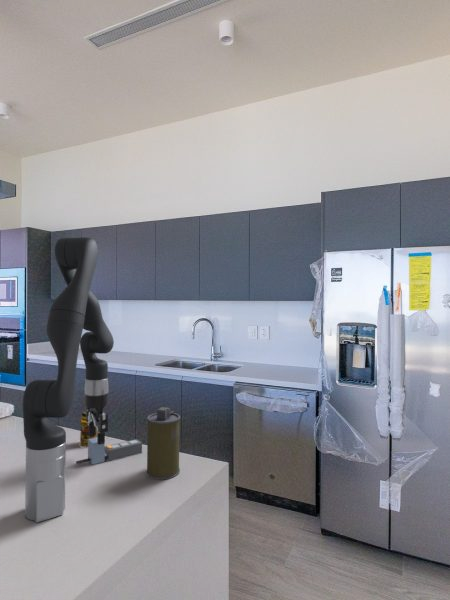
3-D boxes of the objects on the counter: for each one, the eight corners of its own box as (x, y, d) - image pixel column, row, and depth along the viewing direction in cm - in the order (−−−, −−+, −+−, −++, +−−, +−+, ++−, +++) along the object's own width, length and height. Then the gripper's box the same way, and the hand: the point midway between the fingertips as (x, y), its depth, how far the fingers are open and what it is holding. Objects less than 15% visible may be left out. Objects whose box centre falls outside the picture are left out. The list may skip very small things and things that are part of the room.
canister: (170, 482, 113) (171, 414, 113) (139, 476, 117) (140, 411, 117) (185, 467, 124) (186, 405, 124) (157, 462, 127) (157, 402, 127)
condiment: (80, 448, 138) (81, 415, 138) (76, 441, 145) (77, 409, 145) (101, 445, 142) (101, 412, 142) (96, 437, 149) (96, 407, 149)
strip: (141, 452, 135) (142, 441, 135) (108, 461, 128) (108, 449, 128) (136, 448, 138) (136, 437, 138) (103, 456, 131) (104, 445, 131)
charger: (107, 460, 127) (108, 439, 127) (78, 468, 121) (78, 446, 122) (103, 456, 131) (103, 435, 131) (74, 463, 125) (74, 442, 125)
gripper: (115, 394, 124) (115, 444, 124) (100, 385, 135) (100, 431, 136) (92, 398, 119) (92, 449, 120) (78, 388, 131) (78, 435, 131)
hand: (96, 439), depth 128 cm, fingers open, 8 cm apart
